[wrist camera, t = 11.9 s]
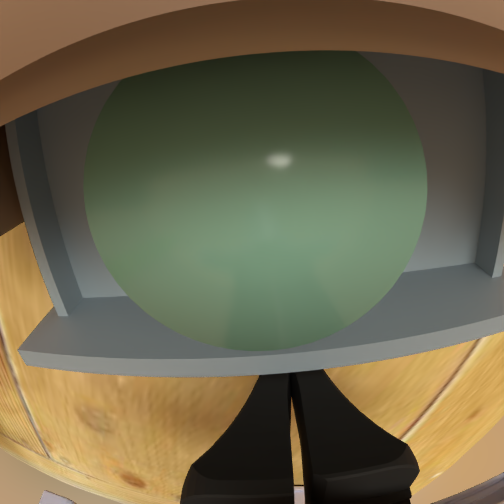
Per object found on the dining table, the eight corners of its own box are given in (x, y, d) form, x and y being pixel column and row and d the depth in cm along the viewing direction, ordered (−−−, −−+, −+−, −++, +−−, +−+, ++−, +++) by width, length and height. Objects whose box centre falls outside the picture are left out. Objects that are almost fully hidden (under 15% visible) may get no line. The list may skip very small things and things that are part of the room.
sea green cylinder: (295, 235, 12) (326, 380, 5) (171, 187, 11) (65, 285, 5) (352, 115, 10) (475, 127, 3) (220, 60, 9) (150, -18, 3)
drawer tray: (481, 265, 13) (538, 319, 9) (75, 301, 14) (26, 365, 10) (486, 42, 9) (562, 32, 4) (24, 86, 10) (-55, 90, 5)
